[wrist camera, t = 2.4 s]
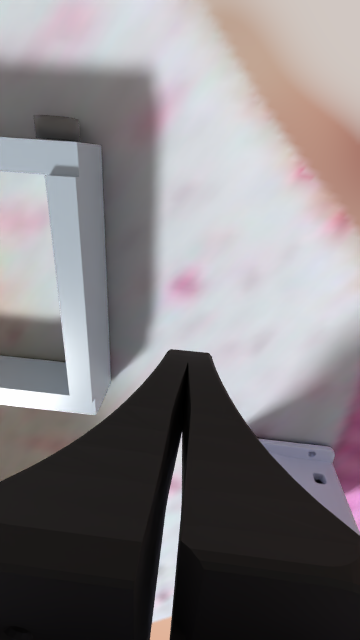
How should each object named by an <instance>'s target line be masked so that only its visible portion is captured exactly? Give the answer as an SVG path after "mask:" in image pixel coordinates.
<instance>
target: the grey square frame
mask: <svg viewBox="0 0 360 640" xmlns="http://www.w3.org/2000/svg"><path fill="white" fill-rule="evenodd" d="M34 123H35V132H36V138H42V139H53V140H67V141H53V140H38V139H22V138H7V137H0V171H4V172H18V173H32V174H46V175H45V181H46V190H47V199H48V208H49V217H50V226H51V235H52V244H53V252H54V261H55V270H56V279H57V288H58V297H59V306H60V314H61V323H62V332H63V341H64V350H65V359H66V362H58V361H48V360H39V359H29V358H19V357H10V356H0V405H8V406H17V407H26V408H35V409H44V410H53V411H62V412H71V413H80V414H89V415H96V414H97V412H98V410H99V408H100V405H101V403H102V401H103V399H104V397H105V395H106V392H107V390H108V388H109V386H110V384H111V370H110V345H109V321H108V297H107V273H106V248H105V224H104V200H103V176H102V151H101V145H96V144H88V143H80V142H68V141H80V130H79V120H78V119H75V118H69V117H61V116H50V115H34Z"/></svg>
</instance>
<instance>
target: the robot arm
mask: <svg viewBox="0 0 360 640" xmlns="http://www.w3.org/2000/svg"><path fill="white" fill-rule="evenodd" d="M181 433H182V507H181V521H180V532H179V543H178V554H177V565H176V576H175V587H174V598H173V609H172V620H171V631H170V640H360V532H359V530H358V527H357V525H356V522H355V520H354V517H353V515H352V512H351V509H350V507H349V504H348V502H347V499H346V497H345V494H344V492H343V489H342V487H341V484H340V481H339V479H338V476H337V474H336V471H335V469H334V466H333V464H332V463H333V460H334V457H335V453H334V451H333V449H332V448H331V447H328V446H319V445H310V444H301V443H292V442H283V441H275V440H266V439H258V438H257V437H256V436H255V434H254V433H253V432H252V431H251V429H250V428H249V426H248V425H247V424H246V422H245V421H244V419H243V418H242V416H241V415H240V413H239V412H238V410H237V408H236V407H235V405H234V404H233V402H232V400H231V399H230V397H229V395H228V393H227V391H226V389H225V388H224V386H223V384H222V382H221V380H220V378H219V375H218V373H217V371H216V368H215V366H214V363H213V360H212V356H211V355H210V354H209V353H203V352H193V351H182V350H172V349H171V350H169V351H168V352H167V353H166V355H165V356H164V358H163V359H162V361H161V362H160V363H159V365H158V366H157V367H156V369H155V370H154V371H153V372H152V374H151V375H150V376H149V377H148V378H147V379H146V381H145V382H144V383H143V384H142V385H141V386H140V387H139V388H138V389H137V390H136V391H135V392H134V393H133V394H132V395H131V396H130V397H129V398H128V399H127V400H126V401H125V402H124V403H123V404H122V405H121V406H120V407H119V408H118V409H116V410H115V411H114V412H113V413H112V414H111V415H109V416H108V417H107V418H106V419H104V420H103V421H102V422H101V423H99V424H98V425H97V426H95V427H94V428H93V429H91V430H90V431H88V432H87V433H86V434H84V435H83V436H82V437H80V438H79V439H77V440H76V441H74V442H73V443H71V444H70V445H68V446H66V447H65V448H63V449H61V450H60V451H58V452H56V453H55V454H53V455H51V456H49V457H48V458H46V459H44V460H42V461H41V462H39V463H37V464H35V465H33V466H31V467H29V468H28V469H26V470H23V471H21V472H19V473H17V474H15V475H13V476H11V477H9V478H7V479H5V480H3V481H1V482H0V640H150V632H151V625H152V616H153V608H154V600H155V591H156V583H157V575H158V567H159V559H160V551H161V543H162V535H163V527H164V519H165V511H166V505H167V499H168V494H169V489H170V485H171V480H172V475H173V471H174V466H175V461H176V457H177V452H178V448H179V443H180V438H181ZM312 451H313V452H312Z"/></svg>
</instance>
